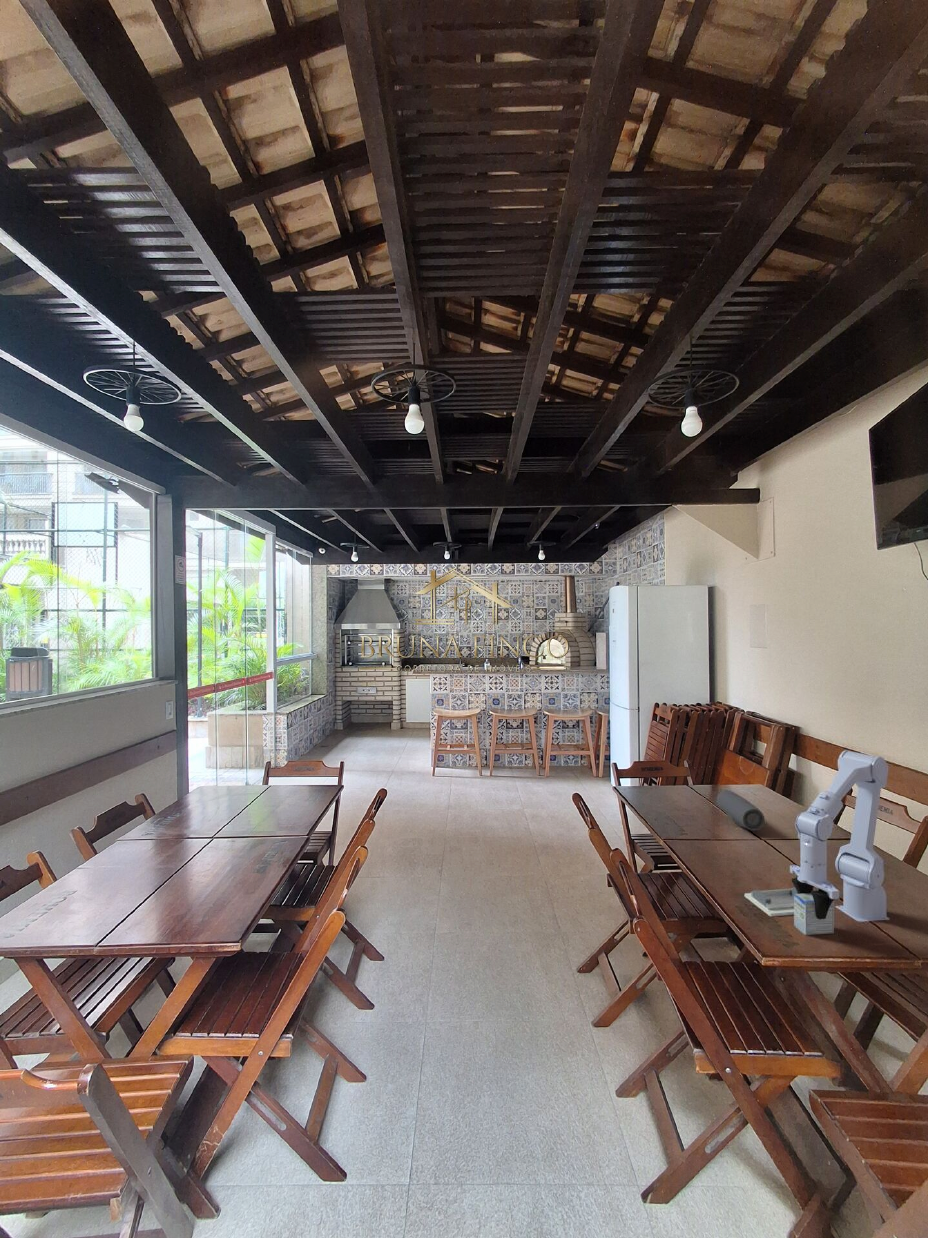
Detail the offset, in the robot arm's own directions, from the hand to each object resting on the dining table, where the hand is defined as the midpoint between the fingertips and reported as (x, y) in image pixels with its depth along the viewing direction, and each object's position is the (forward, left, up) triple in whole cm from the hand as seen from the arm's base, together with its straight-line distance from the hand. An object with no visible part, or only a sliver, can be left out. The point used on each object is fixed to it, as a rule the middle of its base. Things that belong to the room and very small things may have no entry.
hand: (813, 913), depth 143 cm
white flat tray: (-1, -13, -4) cm, 14 cm away
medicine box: (0, 0, -5) cm, 5 cm away
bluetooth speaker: (-29, -72, -5) cm, 78 cm away
